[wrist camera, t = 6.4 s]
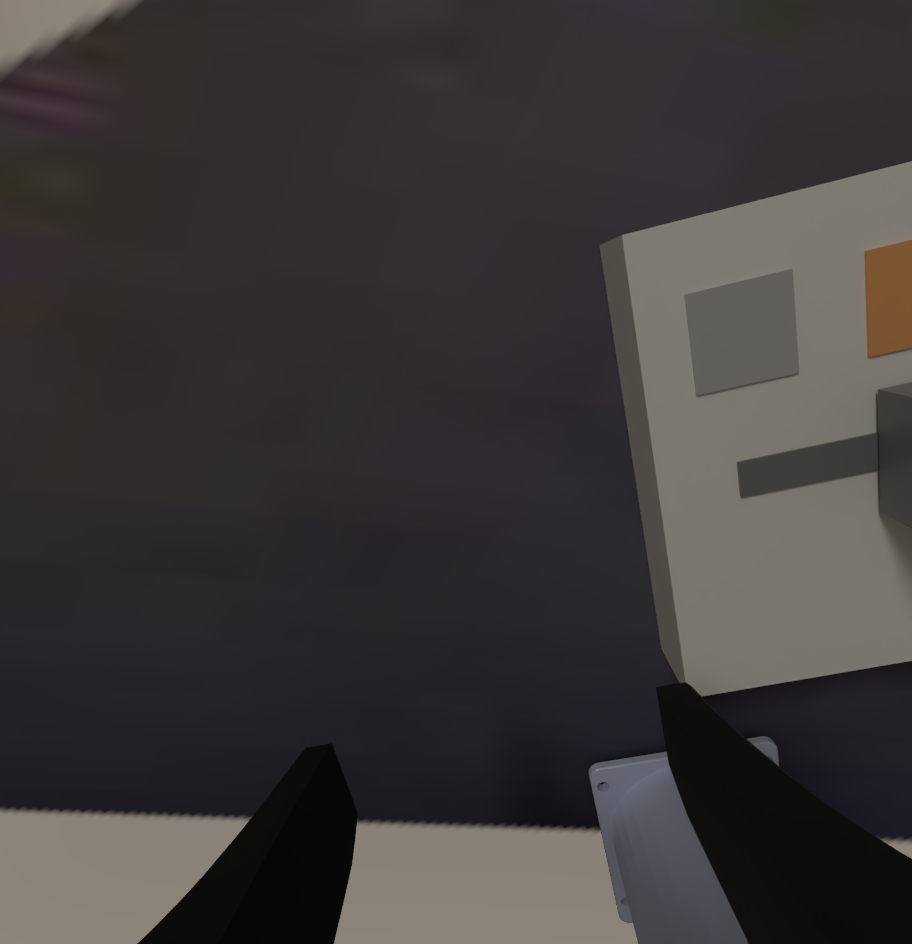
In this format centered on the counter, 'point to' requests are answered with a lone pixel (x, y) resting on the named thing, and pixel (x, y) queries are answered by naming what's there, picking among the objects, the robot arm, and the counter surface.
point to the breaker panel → (769, 428)
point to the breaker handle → (896, 452)
